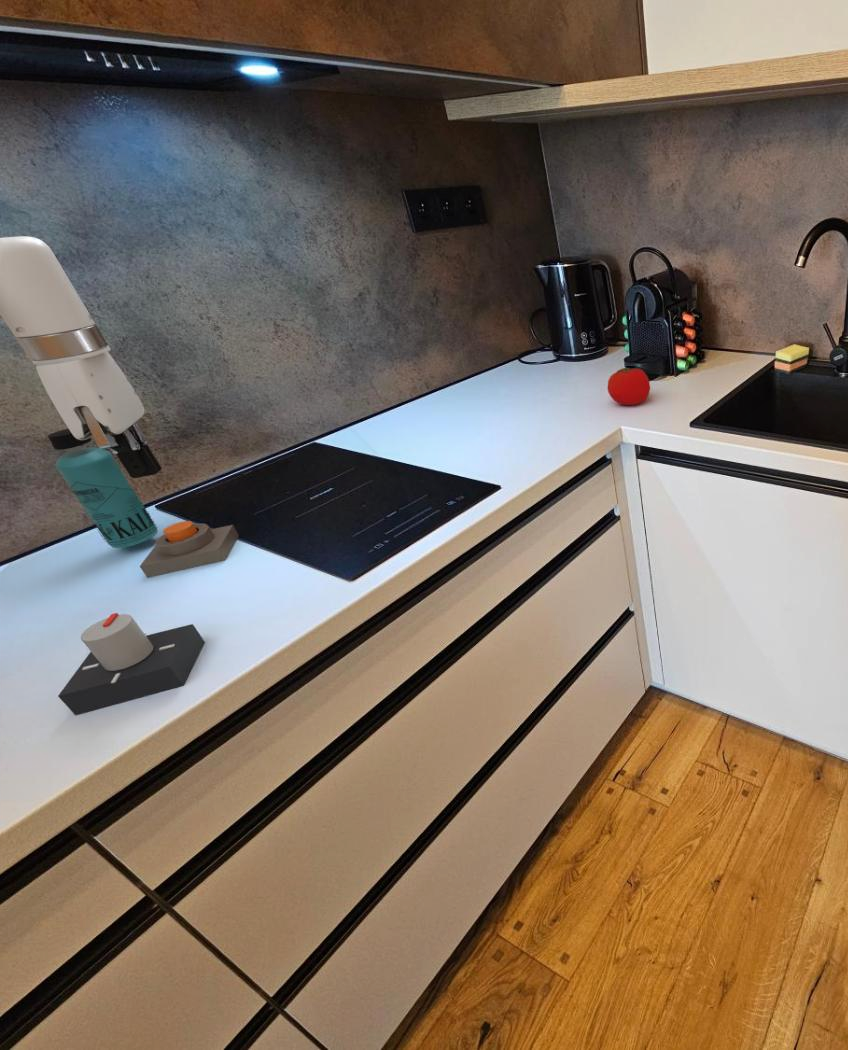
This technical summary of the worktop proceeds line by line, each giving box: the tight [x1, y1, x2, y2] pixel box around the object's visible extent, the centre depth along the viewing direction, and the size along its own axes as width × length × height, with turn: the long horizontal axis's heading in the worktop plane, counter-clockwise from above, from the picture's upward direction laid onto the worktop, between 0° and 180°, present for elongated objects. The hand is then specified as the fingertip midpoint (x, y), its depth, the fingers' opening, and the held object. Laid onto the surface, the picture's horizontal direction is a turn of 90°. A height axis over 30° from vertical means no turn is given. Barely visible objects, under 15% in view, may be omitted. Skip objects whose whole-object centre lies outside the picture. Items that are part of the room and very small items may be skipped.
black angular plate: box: [57, 623, 206, 716], centre depth 67 cm, size 10×9×3 cm
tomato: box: [606, 367, 651, 406], centre depth 137 cm, size 9×10×8 cm
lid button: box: [162, 520, 198, 542], centre depth 89 cm, size 4×4×2 cm
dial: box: [80, 612, 153, 671], centre depth 65 cm, size 4×4×5 cm
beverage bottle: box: [47, 428, 158, 549], centre depth 90 cm, size 6×7×20 cm
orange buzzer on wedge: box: [139, 523, 240, 579], centre depth 90 cm, size 10×8×4 cm
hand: (147, 473), depth 84 cm, fingers closed
